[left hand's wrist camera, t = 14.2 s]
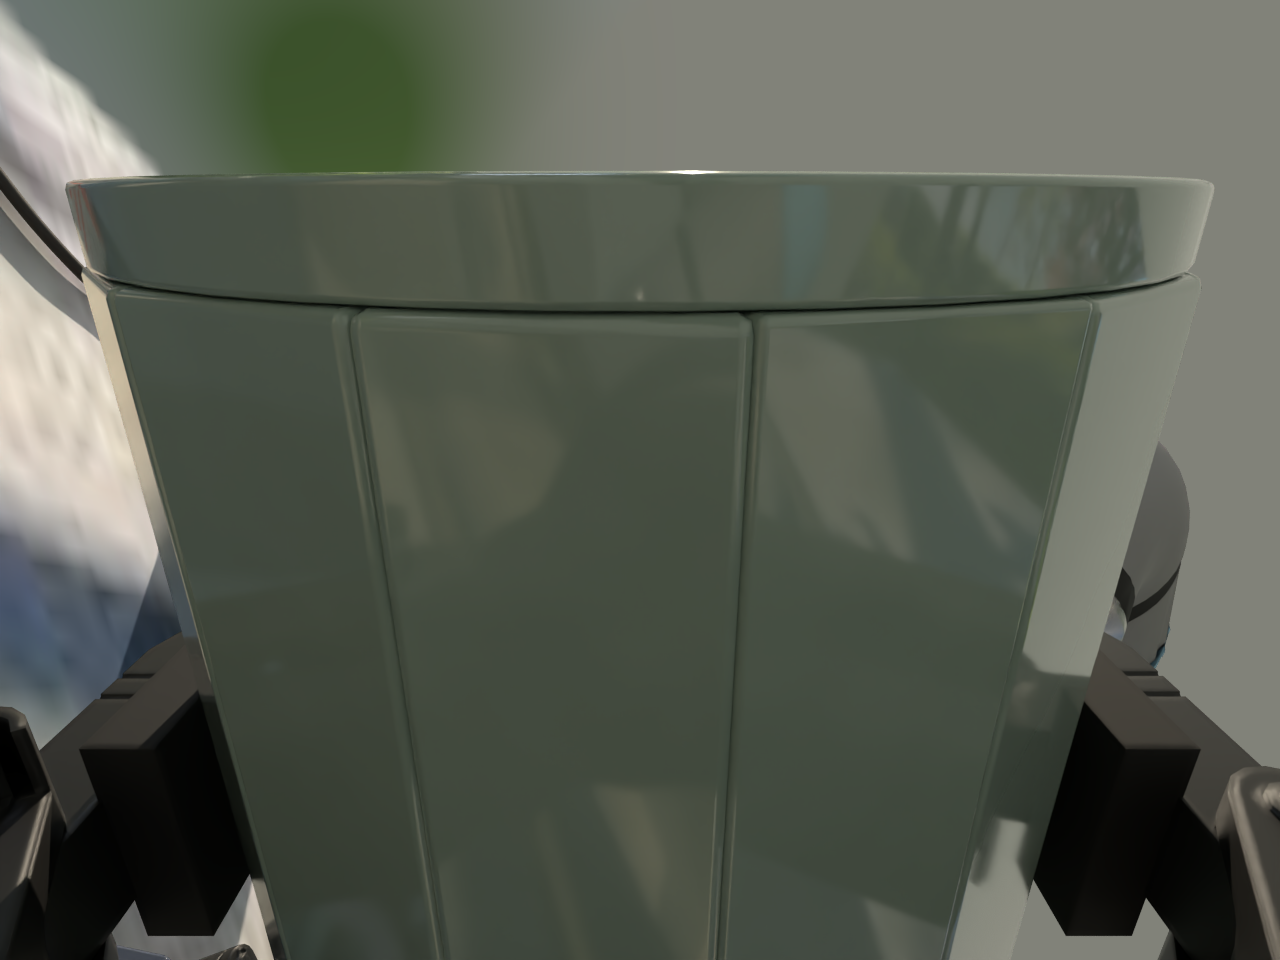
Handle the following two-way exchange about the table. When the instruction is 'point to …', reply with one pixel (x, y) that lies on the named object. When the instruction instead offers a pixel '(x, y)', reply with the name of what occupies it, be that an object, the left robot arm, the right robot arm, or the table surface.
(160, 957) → the pot
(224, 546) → the beaker
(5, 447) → the table surface
